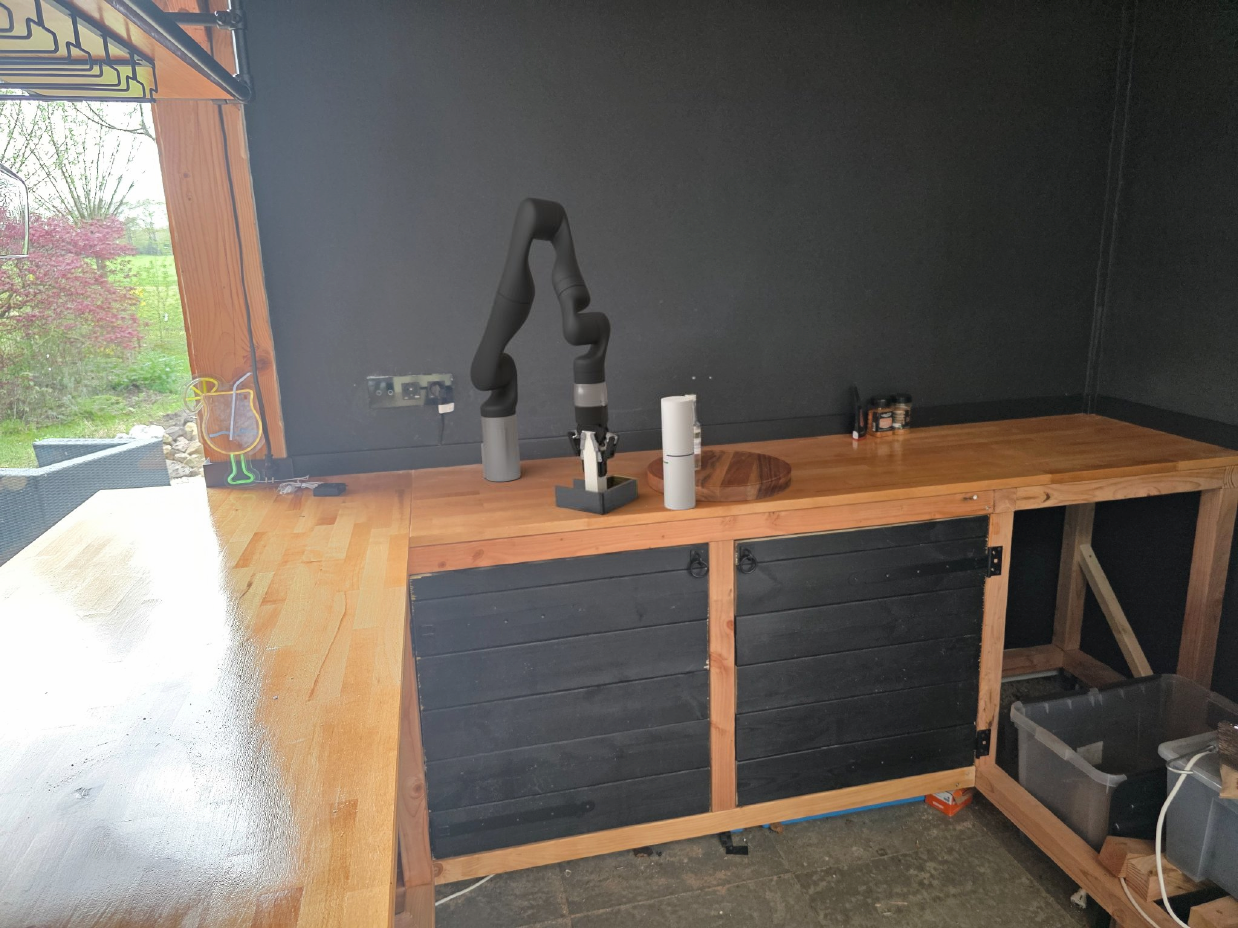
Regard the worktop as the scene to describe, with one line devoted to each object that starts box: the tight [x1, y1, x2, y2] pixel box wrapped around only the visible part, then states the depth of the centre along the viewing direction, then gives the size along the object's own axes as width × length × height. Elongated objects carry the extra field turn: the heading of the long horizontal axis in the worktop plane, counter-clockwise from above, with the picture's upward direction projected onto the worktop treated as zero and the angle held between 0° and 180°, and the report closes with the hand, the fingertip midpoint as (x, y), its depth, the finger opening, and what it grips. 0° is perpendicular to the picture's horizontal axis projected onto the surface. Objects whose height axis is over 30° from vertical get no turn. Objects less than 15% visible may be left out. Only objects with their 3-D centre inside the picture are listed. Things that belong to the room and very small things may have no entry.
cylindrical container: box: [660, 395, 696, 511], centre depth 192 cm, size 7×7×25 cm
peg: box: [582, 431, 607, 492], centre depth 194 cm, size 4×4×16 cm
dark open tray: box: [554, 474, 640, 516], centre depth 200 cm, size 14×14×5 cm
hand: (595, 475), depth 194 cm, fingers closed on peg, 3 cm apart
